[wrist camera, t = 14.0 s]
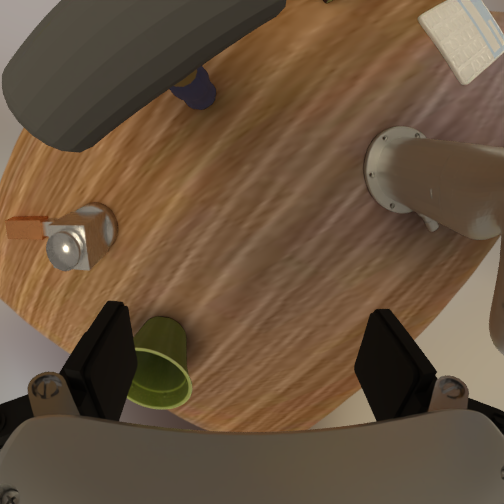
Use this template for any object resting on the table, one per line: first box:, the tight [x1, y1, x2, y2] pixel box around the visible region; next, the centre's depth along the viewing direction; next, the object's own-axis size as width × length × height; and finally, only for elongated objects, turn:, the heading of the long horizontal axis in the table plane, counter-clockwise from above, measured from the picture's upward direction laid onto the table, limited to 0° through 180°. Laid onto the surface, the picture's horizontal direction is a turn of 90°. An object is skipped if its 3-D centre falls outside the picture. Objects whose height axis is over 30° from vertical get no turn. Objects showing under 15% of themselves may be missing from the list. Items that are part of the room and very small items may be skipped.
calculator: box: [418, 0, 504, 85], centre depth 30 cm, size 13×20×2 cm, turn 131°
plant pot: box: [127, 317, 192, 409], centre depth 41 cm, size 12×12×11 cm
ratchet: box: [5, 202, 118, 247], centre depth 37 cm, size 20×7×6 cm, turn 86°
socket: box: [46, 212, 109, 271], centre depth 34 cm, size 6×6×8 cm
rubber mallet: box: [2, 0, 286, 152], centre depth 20 cm, size 12×8×30 cm, turn 124°
